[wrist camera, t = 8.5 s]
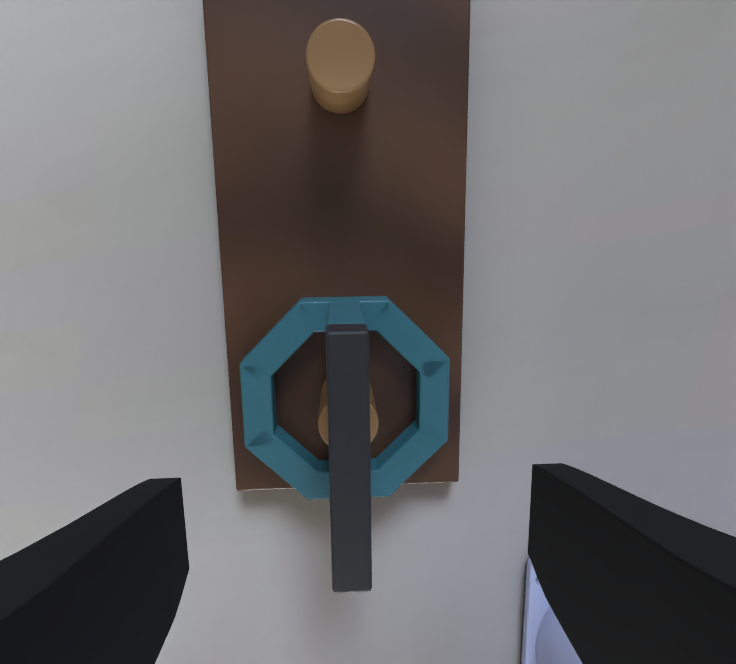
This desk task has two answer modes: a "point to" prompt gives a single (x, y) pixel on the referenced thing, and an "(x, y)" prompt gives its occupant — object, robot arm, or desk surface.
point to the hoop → (346, 417)
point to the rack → (340, 195)
